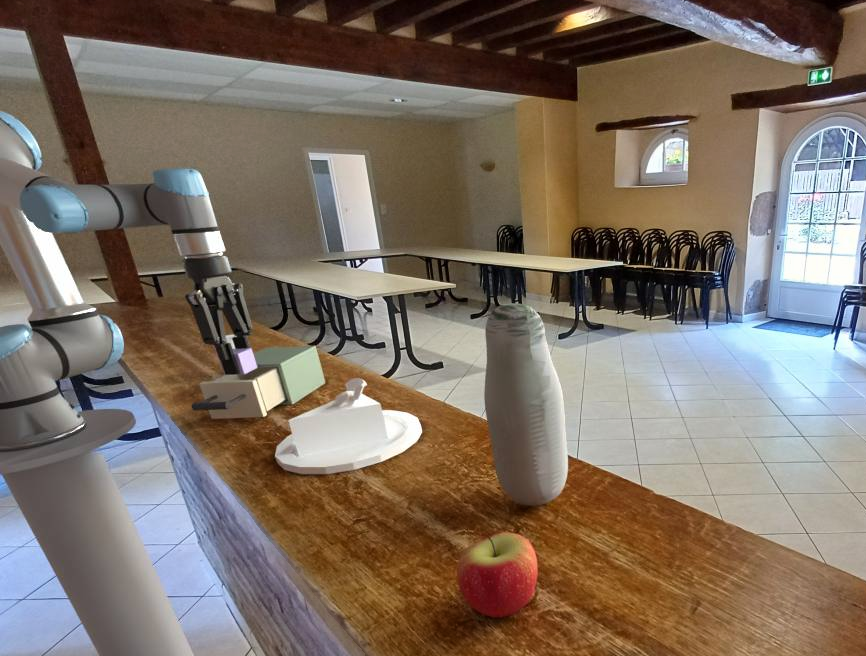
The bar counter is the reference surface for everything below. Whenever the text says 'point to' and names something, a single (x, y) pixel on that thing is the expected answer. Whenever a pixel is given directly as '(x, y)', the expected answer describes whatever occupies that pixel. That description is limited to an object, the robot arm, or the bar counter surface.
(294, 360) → the cabinet
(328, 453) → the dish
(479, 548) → the apple
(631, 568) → the bar counter surface
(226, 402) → the drawer
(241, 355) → the purple cube
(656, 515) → the bar counter surface
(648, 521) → the bar counter surface
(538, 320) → the grey rounded column
